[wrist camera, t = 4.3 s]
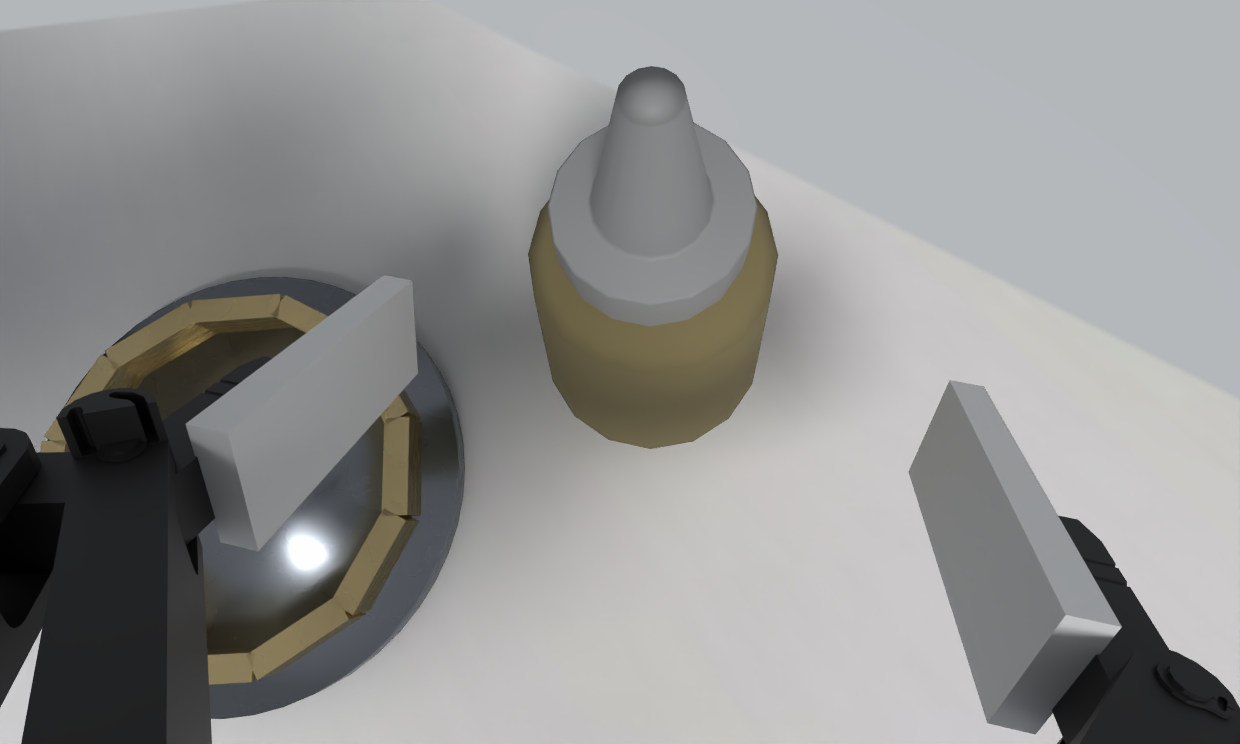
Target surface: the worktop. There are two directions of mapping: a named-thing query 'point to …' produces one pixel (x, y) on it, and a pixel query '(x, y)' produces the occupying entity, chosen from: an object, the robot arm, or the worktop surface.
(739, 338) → the squeeze bottle
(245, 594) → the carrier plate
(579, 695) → the worktop surface
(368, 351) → the robot arm
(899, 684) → the worktop surface
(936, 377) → the worktop surface
